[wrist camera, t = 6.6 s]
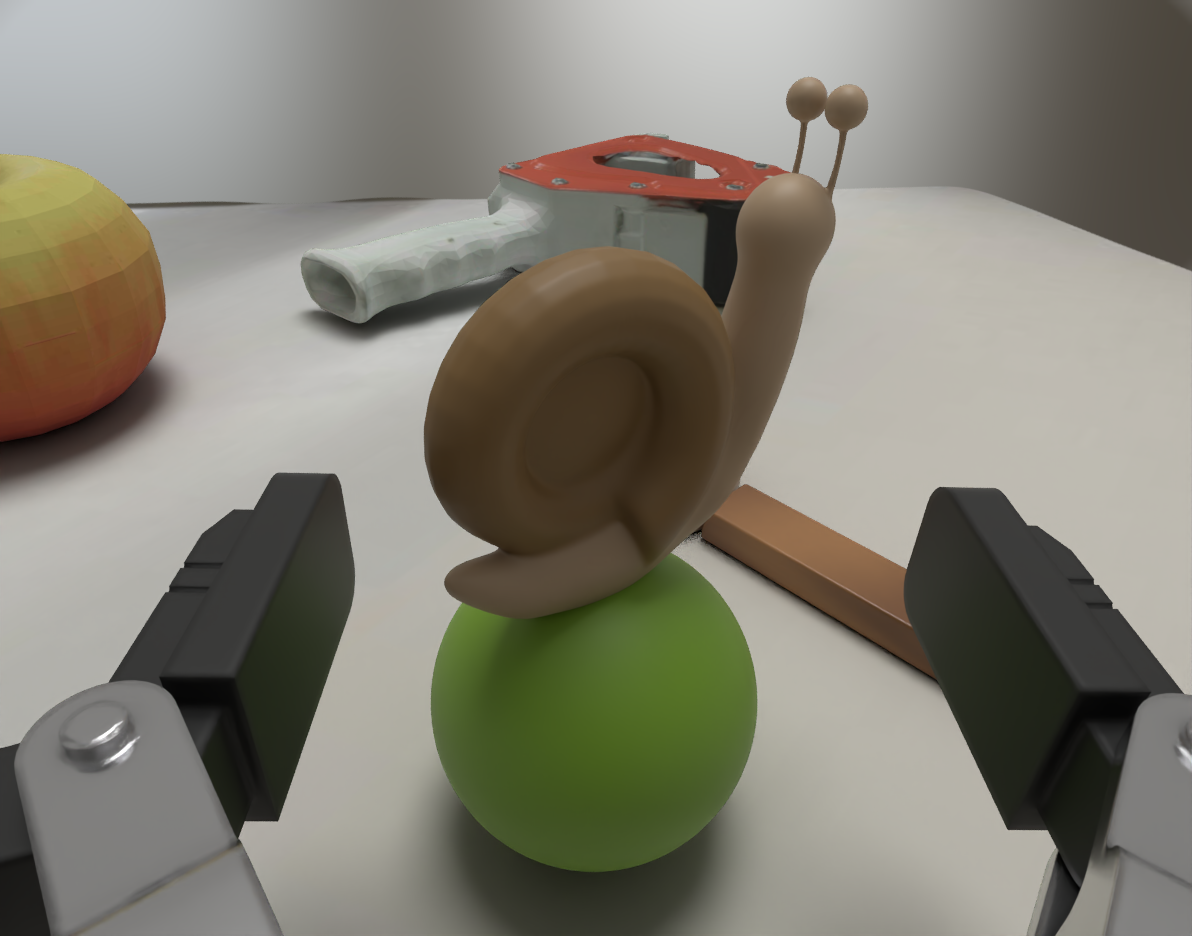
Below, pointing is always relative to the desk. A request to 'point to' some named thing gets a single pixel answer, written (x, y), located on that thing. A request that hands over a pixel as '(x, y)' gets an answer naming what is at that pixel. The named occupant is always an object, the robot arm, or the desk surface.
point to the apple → (70, 296)
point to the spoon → (818, 568)
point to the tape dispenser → (558, 224)
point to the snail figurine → (612, 527)
